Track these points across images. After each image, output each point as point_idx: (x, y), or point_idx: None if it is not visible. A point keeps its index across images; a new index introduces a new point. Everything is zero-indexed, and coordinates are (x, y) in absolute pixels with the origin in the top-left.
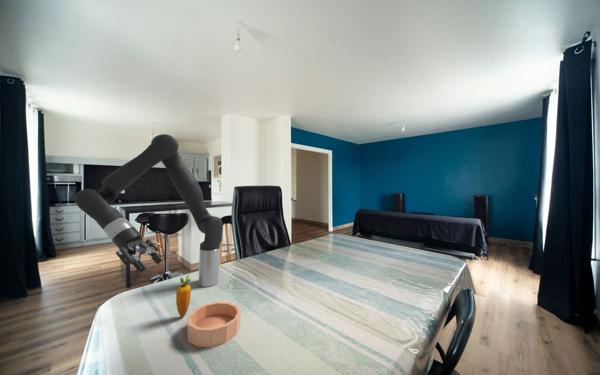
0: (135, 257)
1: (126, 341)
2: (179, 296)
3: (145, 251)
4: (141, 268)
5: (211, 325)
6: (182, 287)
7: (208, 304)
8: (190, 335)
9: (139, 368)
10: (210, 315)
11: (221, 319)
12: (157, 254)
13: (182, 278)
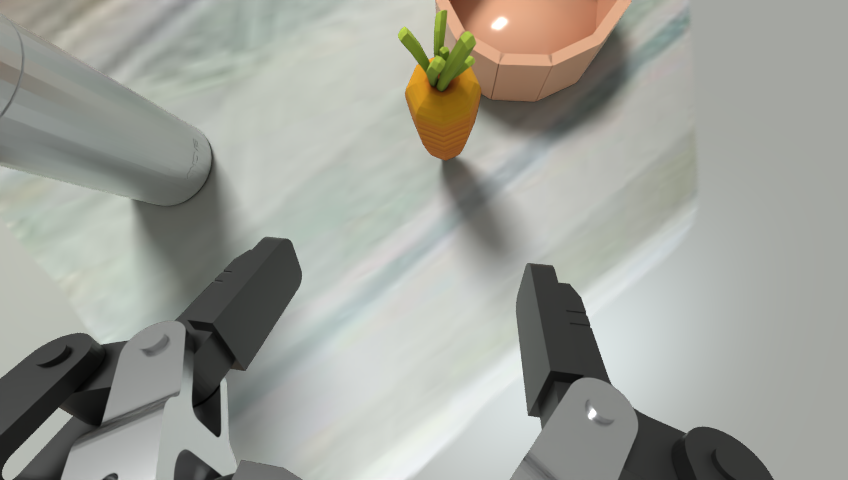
0: (622, 453)
1: (578, 270)
2: (476, 109)
3: (258, 467)
4: (574, 293)
5: (515, 29)
6: (460, 79)
7: (455, 27)
8: (593, 57)
9: (693, 159)
10: None
11: (480, 9)
12: (209, 299)
13: (470, 35)
